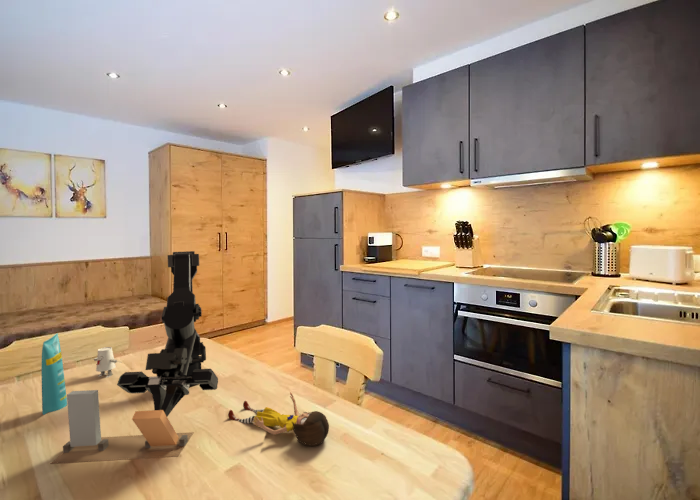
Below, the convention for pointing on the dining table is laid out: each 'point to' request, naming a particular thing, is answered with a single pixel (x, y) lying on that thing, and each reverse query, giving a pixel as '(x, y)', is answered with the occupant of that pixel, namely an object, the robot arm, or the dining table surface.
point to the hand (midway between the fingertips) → (158, 424)
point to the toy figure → (105, 361)
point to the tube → (52, 376)
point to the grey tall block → (84, 418)
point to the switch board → (121, 449)
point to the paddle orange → (155, 427)
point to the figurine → (290, 423)
